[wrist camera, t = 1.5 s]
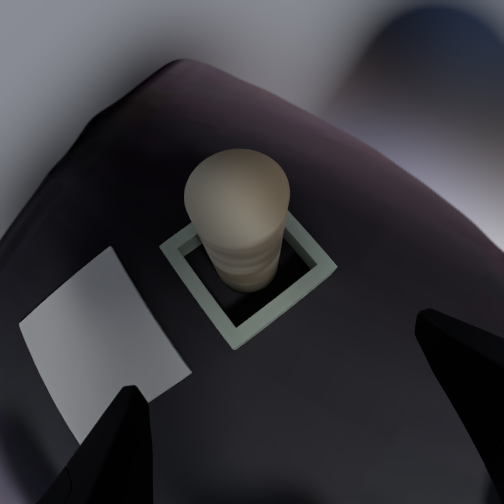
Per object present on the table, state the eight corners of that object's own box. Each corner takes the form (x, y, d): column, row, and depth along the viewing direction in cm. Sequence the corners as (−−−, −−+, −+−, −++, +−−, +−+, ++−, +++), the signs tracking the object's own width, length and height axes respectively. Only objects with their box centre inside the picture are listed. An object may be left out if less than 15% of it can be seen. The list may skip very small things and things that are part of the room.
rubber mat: (83, 443, 19) (80, 445, 18) (22, 325, 22) (18, 324, 22) (192, 372, 21) (191, 372, 20) (112, 248, 24) (110, 245, 24)
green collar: (235, 349, 21) (233, 349, 20) (166, 254, 24) (158, 246, 22) (331, 273, 23) (337, 266, 21) (257, 190, 25) (257, 177, 24)
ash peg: (241, 306, 22) (224, 262, 12) (205, 259, 24) (165, 185, 13) (289, 269, 23) (311, 199, 13) (252, 225, 24) (246, 133, 14)
